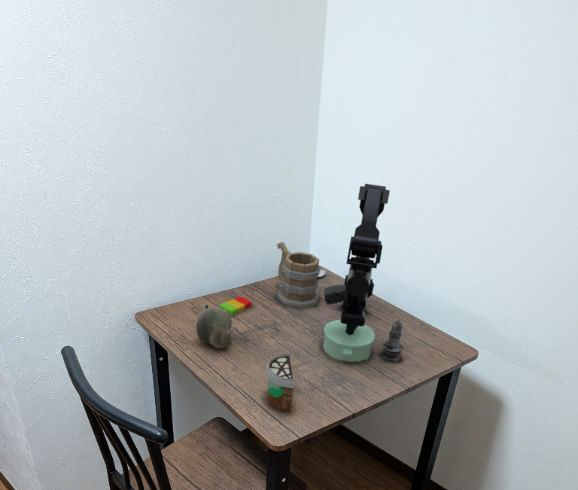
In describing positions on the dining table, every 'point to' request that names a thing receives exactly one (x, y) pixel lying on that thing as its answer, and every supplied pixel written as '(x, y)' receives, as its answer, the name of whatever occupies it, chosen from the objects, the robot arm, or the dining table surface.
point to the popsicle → (235, 305)
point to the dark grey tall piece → (393, 343)
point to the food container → (280, 382)
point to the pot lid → (357, 339)
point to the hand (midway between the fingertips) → (349, 332)
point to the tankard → (298, 278)
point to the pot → (346, 351)
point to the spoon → (318, 275)
